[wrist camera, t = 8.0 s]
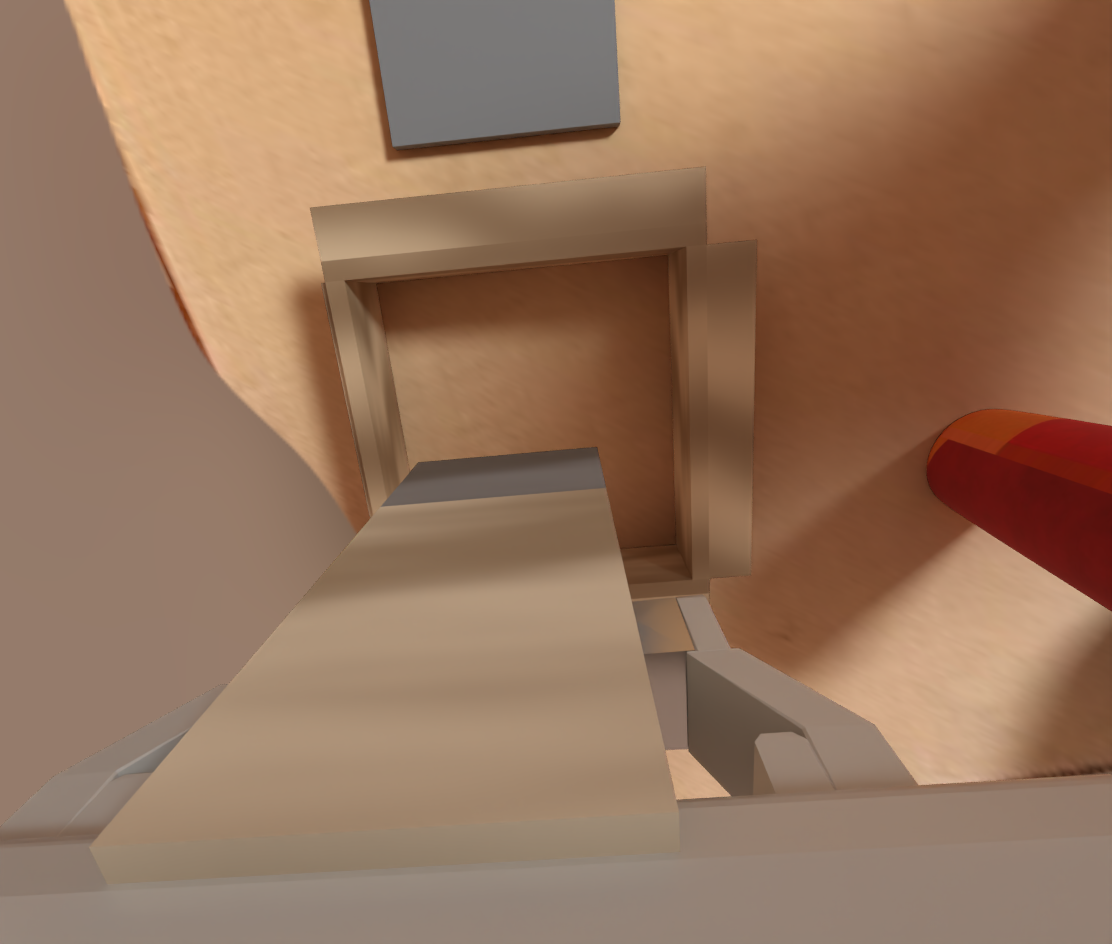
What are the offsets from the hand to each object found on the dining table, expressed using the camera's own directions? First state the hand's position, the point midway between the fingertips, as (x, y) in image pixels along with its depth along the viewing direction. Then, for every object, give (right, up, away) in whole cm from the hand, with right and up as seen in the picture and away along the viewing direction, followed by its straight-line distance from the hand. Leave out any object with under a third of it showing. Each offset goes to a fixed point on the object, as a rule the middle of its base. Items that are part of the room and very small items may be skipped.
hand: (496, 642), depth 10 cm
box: (0, +1, +4) cm, 5 cm away
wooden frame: (0, +6, +18) cm, 19 cm away
